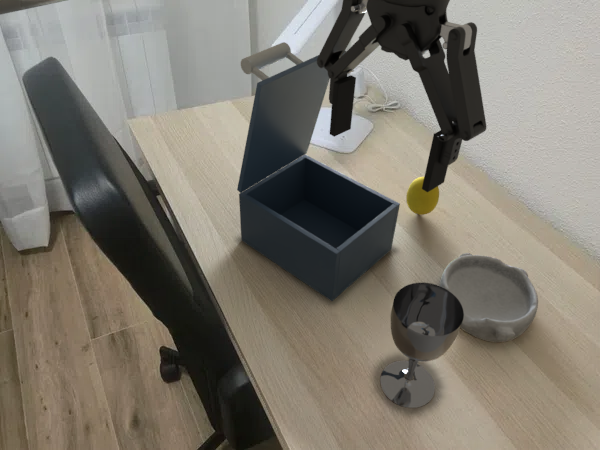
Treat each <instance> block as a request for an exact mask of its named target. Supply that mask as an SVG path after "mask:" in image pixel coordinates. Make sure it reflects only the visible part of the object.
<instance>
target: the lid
mask: <svg viewBox="0 0 600 450" xmlns="http://www.w3.org/2000/svg"><path fill="white" fill-rule="evenodd" d="M318 56H319V54H318V55H316V56H313V57H311V58H309V59H307V60H302V59H301V58H299V57H298V56H296V55H295V54H294V53H292V49H291V46H290V45H289V44H288V42H280V43H278V44H276V45H273V46H271V47H269V48H266V49H263V50H261V51H259V52H256V53H253V54H251V55H249V56H246V57H243V58H242V59H241V61H240V68H241V70H242V72H243V73H244V74H245V75H251V74H253V75H254V76H255V77H257V78H259V80H260V81H259V82H257V83H256V88H255V93H254V99H253V104H252V109H251V114H250V120H249V126H248V131H247V135H246V141H245V147H244V151H243V156H242V161H241V166H240V167H241V168H240V173H239V179H238V183H237V188H236V190H237V192H239V194H240V193H242V192H243V191H245V190H247V189H248V188H250V187H252V186H253V185H255V184H257V183H258V182H260V181H262V180H263V179H265V178H267V177H268V176H270V175H272V174H273V173H275V172H277V171H278V170H280V169H281V168H283V167H285V166H286V165H288V164H290V163H291V162H293V161H295V160H296V159H298V158H300V157H301V156H303V155H305V154H306V155H307V154H308V150H309V147H310V144H311V141H312V137H313V134H314V131H315V128H316V124H317V121H318V118H319V115H320V111H321V109H322V106H323V101H324V99H325V95H326V92H327V89H328V87H329V84H330V78H329V76H328V71H327V70H326V69H325V68H320V67H318V65H317V58H318ZM286 59H288V60H289V61H290V62H291V63H292V64H294V65H293V66H291V67H289V68H287V69H285V70H282V71H280V72H278V73H276V74H273V75H271V76H268V75H267V74H266V73H265V72H263V71H262V69H265V68H267V67H270V66H271V65H274V64H277V63H278V62H281V61H284V60H286Z"/></svg>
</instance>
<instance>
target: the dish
mask: <svg viewBox="0 0 600 450" xmlns="http://www.w3.org/2000/svg"><path fill="white" fill-rule="evenodd" d="M439 286H441V287H443V288H445V289H447V290H448V291H450V292H451V293H452V294H453V295H454V296H456V298H457V299H458V300H459V301H460V303H461V305H462V308H463V312H464V318H463V322H462V325H461V328H460V330H463V331H465V332H466V333H467V334H470V335H471V336H473V337H475V338H477V339H479V340H482V341H487V342H491V343H506V342H510V341H513V340H515V339H517V338H518V337H520V336H521V335H523V334H524V333H525V332H526V331H527V330H528V329H529V327H530V326H531V325H532V323H533V321H534V319H535V317H536V315H537V312H538V308H539V297H538V293H537V291H536V287H535V286H534V284H533V283H532V281H531V280H530V278H529V274H528V272H527V271H526V270H525V269H523V268H521V267H517V266H512V265H509V264H508V263H505V262H503V261H502V260H501V259H499V258H497V257H492V256H489V255H481V254H472V253H471V252H464V253H462V254H460V255H459V256H458V257H456V258H455V259H452V261H450V262H449V263H448V264H447V266H446V267H445V268H444V271H443V272H442V275H441V278H440V281H439Z"/></svg>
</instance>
